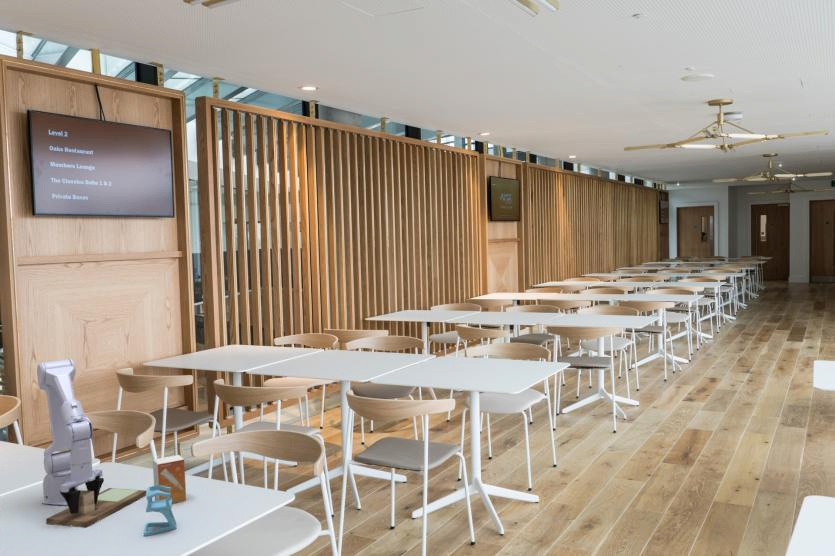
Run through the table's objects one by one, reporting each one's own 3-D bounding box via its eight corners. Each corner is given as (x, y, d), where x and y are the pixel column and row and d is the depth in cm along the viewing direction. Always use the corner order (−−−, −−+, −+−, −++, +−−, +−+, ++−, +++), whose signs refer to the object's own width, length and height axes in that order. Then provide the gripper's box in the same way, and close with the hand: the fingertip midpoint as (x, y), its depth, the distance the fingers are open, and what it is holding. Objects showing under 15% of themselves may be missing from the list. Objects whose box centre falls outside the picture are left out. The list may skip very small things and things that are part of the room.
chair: (175, 532, 196) (173, 488, 195) (143, 536, 193) (141, 492, 193) (176, 522, 203) (175, 480, 203) (145, 526, 201) (143, 483, 200)
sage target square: (89, 500, 219) (89, 499, 219) (112, 489, 229) (112, 488, 229) (117, 502, 217) (117, 501, 217) (138, 491, 226) (138, 490, 226)
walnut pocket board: (46, 523, 206) (46, 518, 206) (109, 492, 231) (109, 488, 231) (86, 527, 202) (86, 522, 202) (146, 495, 227) (146, 490, 227)
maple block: (73, 518, 209) (72, 494, 209) (83, 513, 213) (82, 490, 213) (85, 519, 208) (83, 495, 208) (95, 514, 212) (93, 491, 211)
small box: (159, 506, 216) (157, 464, 215) (154, 501, 221) (152, 459, 220) (187, 500, 220) (184, 458, 220) (181, 495, 225) (178, 454, 225)
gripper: (73, 470, 202) (77, 518, 202) (109, 455, 215) (112, 500, 216) (53, 469, 204) (56, 516, 204) (90, 454, 217) (93, 498, 218)
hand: (84, 508), depth 210 cm, fingers open, 7 cm apart
